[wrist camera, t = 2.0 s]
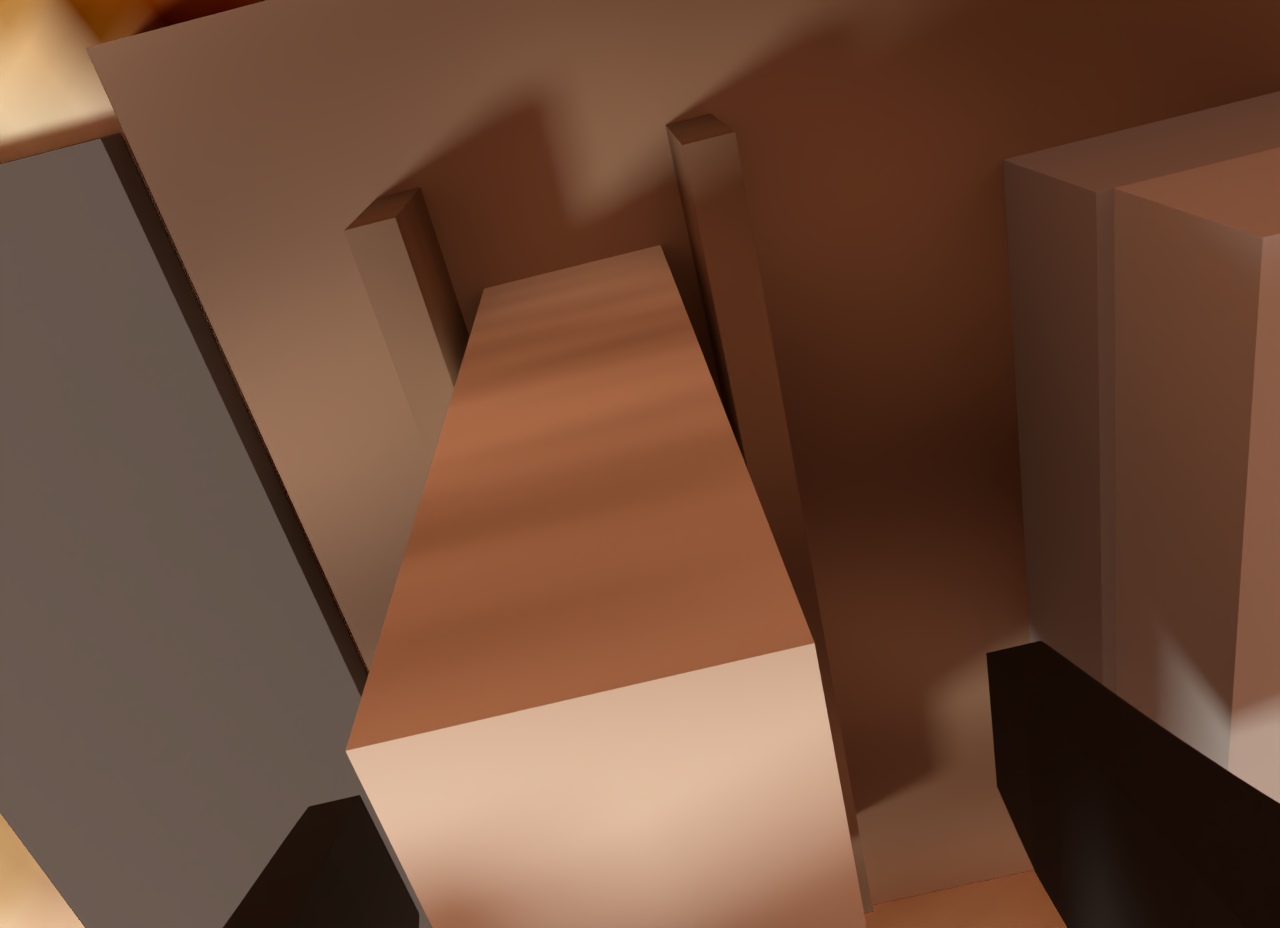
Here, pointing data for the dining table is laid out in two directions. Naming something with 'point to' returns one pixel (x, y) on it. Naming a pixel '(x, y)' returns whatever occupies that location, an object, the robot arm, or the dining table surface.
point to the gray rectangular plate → (147, 574)
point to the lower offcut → (1087, 354)
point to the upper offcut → (1201, 458)
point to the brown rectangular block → (600, 642)
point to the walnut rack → (681, 286)
